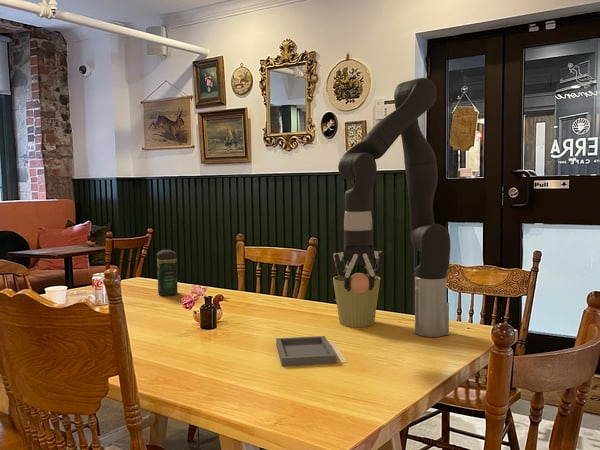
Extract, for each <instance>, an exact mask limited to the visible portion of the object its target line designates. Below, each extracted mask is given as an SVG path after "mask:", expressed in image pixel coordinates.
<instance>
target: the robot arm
mask: <svg viewBox="0 0 600 450" xmlns="http://www.w3.org/2000/svg"><path fill="white" fill-rule="evenodd" d="M393 93H394V94H393V95H394V96H393V101H394V107H395V110H394V111H392V112H390V113H389V114H387V115H386V116H385V117H383V118H382V119H381V120H379V121H378V122H377V123H376V124H375V125H374V126H373V127H372V128H371V129H370V130H369V132H368V133H367V134H366V135H365V136H364V138H363V139H362V140H361V141H359V142H358V143H356V144H355V145H354V146H352V147H351V148H349V149H348V150H347V151H346V152H345V153H343V155H342V156H341V158H340V159H339V162H338V166H337V168H338V169H337V170H338V173H339V175H340V176H341V177H342V178H343V179H346V180H348V181H349V180H351V181H352V180H353V181H354V185H353V187H352V188H350V189H348V190H346V191H345V193H344V217H343V235H344V237H343V245H344V246H343V251H340V252H337V253H336V252H334V253H333V254H332V256H333V262H334V266H335V270H336V271H335V272H336V273H337V276H343V277H344V288H345V289H346V290H347V291H350V277H349V276H350V273H351V271H352V269H353V267H354V266H359V265H361V266H365V271H366V272H367V275H369V276H368V279H369V287H368V290H372V288H374V277H375V276H378V275H380V274H381V273H382V269H383V264H384V257H385V252H383V251H381V250H379V251H377V250H374V248H373V244H374V243H373V227H374V225H373V216H372V197H371V196H372V193H373V188H374V185H375V181H376V177H377V172H378V171H377V170H378V169H377V168H378V167H377V161H376V160H378V159H381V158H382V157H383V156H384V155H385V153H387V152H388V150H389V149H390V147H392V145H393V144H394V143H395V141H396V140H397V139H399V137H401V143H402V149H403V150H402V151H403V160H404V162H403V163H404V169H405V170H404V171H405V172H404V173H405V178H406V186H407V193H408V194H407V195H408V201H409V211H410V213H409V214H410V215H409V216H410V222H409V223H410V241H411V243H412V246H413V248H414V249H415V250H416V251H418V252H420V253H421V254H420V263H419V265H418V264H417V266H416V267H415V268H414V333H415V334H416V335H418V336H422V337H427V338H428V337H429V338H438V337H444V336H446V335H447V336H448V335H450V331H449V330H450V303H449V302H447V289H448V288H447V281H448V279H447V275H448V274H447V273H448V270H449V269H450V261H451V259H450V258H451V236H450V233H449V230H448V229H447V228H446V227H445V226H444V225H442V224H438V223H436V222H435V217H434V216H435V215H434V206H433V205H434V198H435V194H436V191H437V187H438V180H439V177H438V176H439V174H438V163H437V157H436V154H435V151H434V149H433V147H432V146H431V144H430V143H429V142H428V139H426V138H425V136H424V134H423V133H422V130H421V128H420V125H419V118H420V117H421V116H422V115H424V113H425V112H427V111H429V109H430V108H432V106H434V104H435V102H436V101H437V94H438V93H437V87H436V85H435V83H434V82H433V81H432V79H430V78H427V77H419V78H413V79H411V80H407V81H403V82H400V83H399V84H397V86H396V87H395V89H394V92H393ZM343 256H344V257H345V258H346V259H347V264H346V266H345V268H344V269H343V268H342V263H341V262H342V261H343ZM373 257H374V258H375V266H374V269H373V266H372V263H371V259H372V258H373Z"/></svg>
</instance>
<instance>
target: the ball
mask: <svg viewBox="0 0 600 450" xmlns="http://www.w3.org/2000/svg"><path fill="white" fill-rule="evenodd" d="M365 274H366V273H365ZM365 274H363V273H355V274H354V275H352V276H351V278H350V288H351V290H352V291H353V292H355V293H363V292H365V291H366V290H367V289H368V287H369V279H368V277H367V276H366V275H367V274H366V275H365Z"/></svg>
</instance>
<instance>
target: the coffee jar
mask: <svg viewBox="0 0 600 450" xmlns="http://www.w3.org/2000/svg"><path fill="white" fill-rule="evenodd" d="M156 265H157V266H156V267H157V293H158V295H160V296H166V297H169V296H173V295H177V294H178V259H177V252H175V251H173V250H171V249H161V250H160V251H158V252H157V253H156Z"/></svg>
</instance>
